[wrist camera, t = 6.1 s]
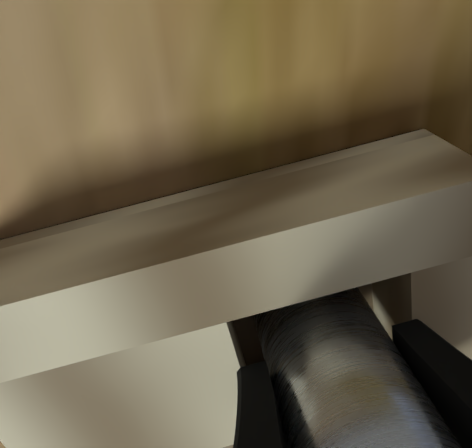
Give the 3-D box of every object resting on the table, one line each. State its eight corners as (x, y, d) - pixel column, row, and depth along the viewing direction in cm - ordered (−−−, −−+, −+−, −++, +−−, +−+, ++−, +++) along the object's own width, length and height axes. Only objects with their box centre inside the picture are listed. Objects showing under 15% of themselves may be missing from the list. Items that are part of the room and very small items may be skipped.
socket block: (424, 128, 11) (502, 173, 9) (423, 416, 17) (468, 493, 15) (-31, 248, 11) (-91, 330, 8) (128, 497, 17) (122, 590, 15)
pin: (348, 242, 12) (610, 600, 5) (355, 325, 13) (564, 692, 6) (241, 269, 12) (350, 670, 5) (260, 348, 13) (364, 747, 6)
